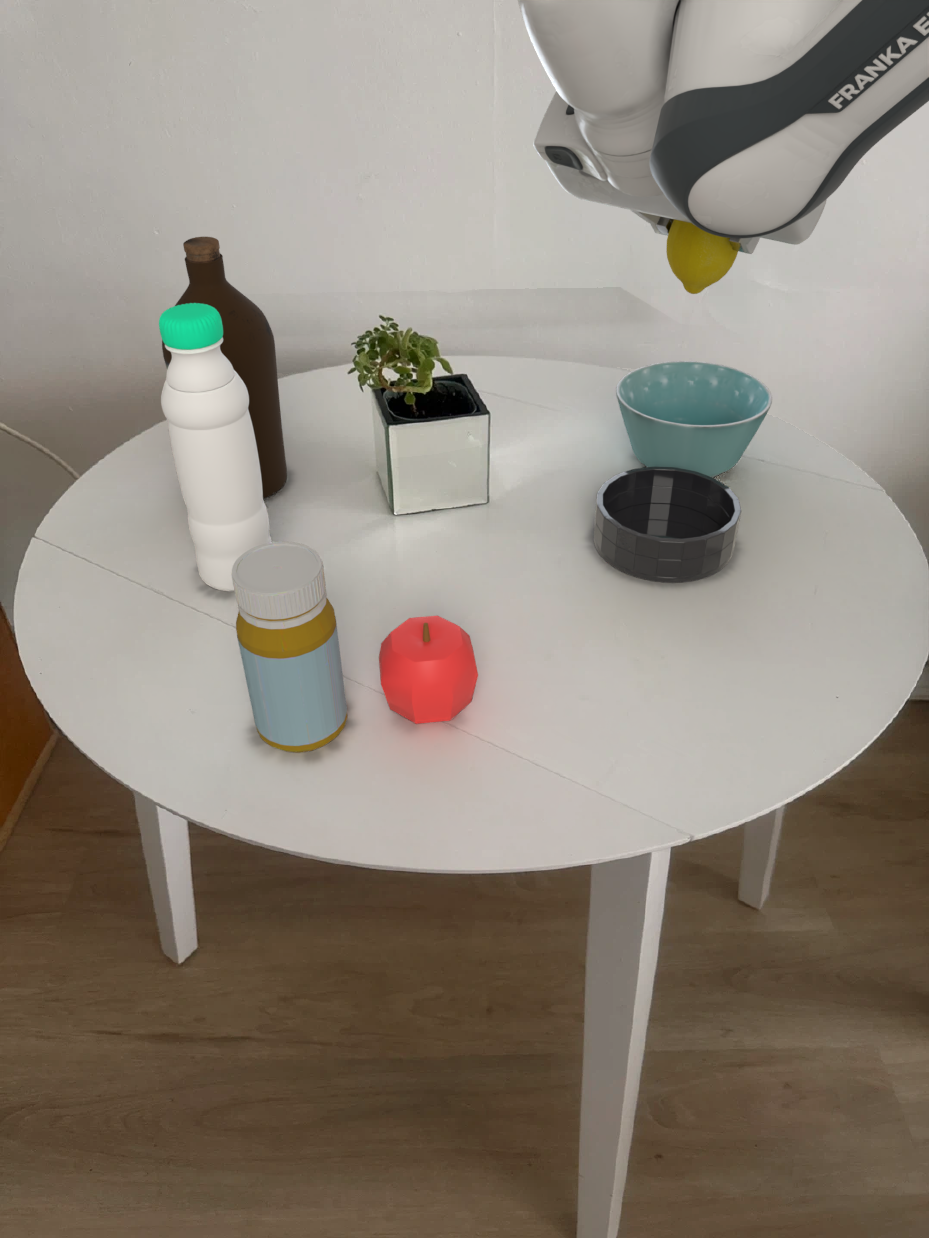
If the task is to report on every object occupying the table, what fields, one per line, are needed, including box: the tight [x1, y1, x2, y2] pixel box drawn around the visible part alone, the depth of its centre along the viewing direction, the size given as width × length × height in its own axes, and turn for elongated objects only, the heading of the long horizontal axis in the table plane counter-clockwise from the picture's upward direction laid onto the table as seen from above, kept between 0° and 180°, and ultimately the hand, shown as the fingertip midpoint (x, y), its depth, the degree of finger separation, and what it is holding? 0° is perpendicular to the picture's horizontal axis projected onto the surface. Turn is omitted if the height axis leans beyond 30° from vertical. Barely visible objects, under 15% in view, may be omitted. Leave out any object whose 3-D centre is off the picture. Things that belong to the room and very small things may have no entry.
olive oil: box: [161, 236, 288, 500], centre depth 98 cm, size 11×11×25 cm
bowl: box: [615, 360, 773, 478], centre depth 105 cm, size 16×16×8 cm
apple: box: [378, 614, 479, 725], centre depth 76 cm, size 8×8×8 cm
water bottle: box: [158, 303, 273, 592], centre depth 85 cm, size 7×7×25 cm
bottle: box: [231, 540, 348, 754], centre depth 72 cm, size 7×7×15 cm
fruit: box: [666, 219, 739, 295], centre depth 78 cm, size 6×6×8 cm
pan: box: [593, 466, 742, 584], centre depth 94 cm, size 13×13×4 cm
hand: (707, 235), depth 78 cm, fingers closed on fruit, 5 cm apart
